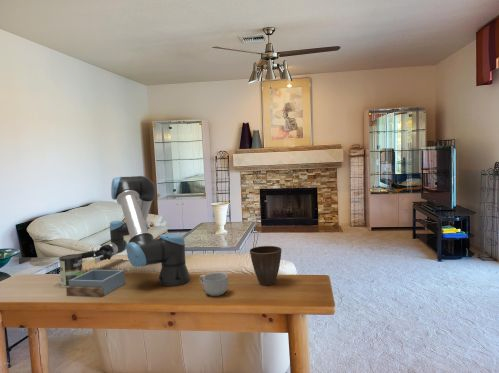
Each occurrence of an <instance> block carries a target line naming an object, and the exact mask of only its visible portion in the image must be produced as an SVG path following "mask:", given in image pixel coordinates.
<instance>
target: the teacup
mask: <svg viewBox="0 0 499 373" xmlns="http://www.w3.org/2000/svg"><path fill="white" fill-rule="evenodd" d="M228 278H229V277H228V274H227V273H225V272H221V271H220V272H217V271H216V272H210V273H207V274H201V275H200V276H199V282H200V284H201V285H203V289H204V292H205V293H206V294H208V296H211V297H218V296H221V295H224V293H225V292H226V291H227V290H228V287H229V285H228V284H229V283H228V282H229V280H228Z"/></svg>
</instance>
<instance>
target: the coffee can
mask: <svg viewBox="0 0 499 373" xmlns="http://www.w3.org/2000/svg"><path fill="white" fill-rule="evenodd" d="M58 260H59V269H60V270H59V271H60V283H61V284H60V286H61V287H63V288H66V287H68V286H69V280H71V279H73V278H75V277H77V276H80V275H82V274H84V272H83V270H84V269H83V259H82V255H81V254H80V253H72V254H64V255H61V256H59V258H58Z"/></svg>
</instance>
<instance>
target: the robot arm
mask: <svg viewBox="0 0 499 373" xmlns="http://www.w3.org/2000/svg"><path fill="white" fill-rule="evenodd" d="M110 188H111V189H110V190H111V191H110V193H111V194H110V195H111V199H112V200H116V202H117V204H118V205H120V206H121V209H122V213H123V216H124V219H125V223H124V222H123V220H112V221H111V222H110V223H109V231H110V232H109V233H110V234H109V235H110V242H109V243H107V244H104V245H102V246H100V247H99V249H97V250H94V249H93V250H90V251H86V252H81V253H79V254H81V255H82V260H83V259H87V258H88V259H89V258H93V259H94V264H98V263H100V262H104V260H105V261H106V260H111V259H112V257H113V256H116V255H117V254H120V253H123V252H124V251H126V254H127V259H128V261H129V263H130V264H131V266H133V267H134V268H138V267H146V266H149V265H155V264H161V268H160V272H159V274H158V275H159V276H158V284H159V285H160V286H165V287H174V286H181V285H185V284H186V283H189V282H190V281H191V276H190V273H189V270H188V268H187V265H186V244H185V238H184V236H182V235H180V234H175V233H174V234H173V233H165V234H164V233H163V234H160V235H159V238H154V236H153V234H151V233H150V232H149V231H148V230H149V226H148V224H149V223H148V222H147V218H148V215H149V213H150V210H151V207H152V206H151V205H152V202H153V201H154V200H155V198H156V196H157V195H156V194H157V188H156V185H155V184H154V182H153V181H152V179H150V178H149V177H146V176H144V175H137V176H134V175H133V176H132V175H131V176H117V177H113V178H112V180H111V187H110ZM126 236H129V237H130V239H129V240H128V242H127V241H126V240H125V238H124V237H126Z"/></svg>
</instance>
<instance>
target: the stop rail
mask: <svg viewBox="0 0 499 373" xmlns="http://www.w3.org/2000/svg"><path fill="white" fill-rule="evenodd" d="M65 289H66V296H69V297H87V298H88V297H89V298H103V297H104V296H105V295H104V288H99V287H72V286H68V287H65Z"/></svg>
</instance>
